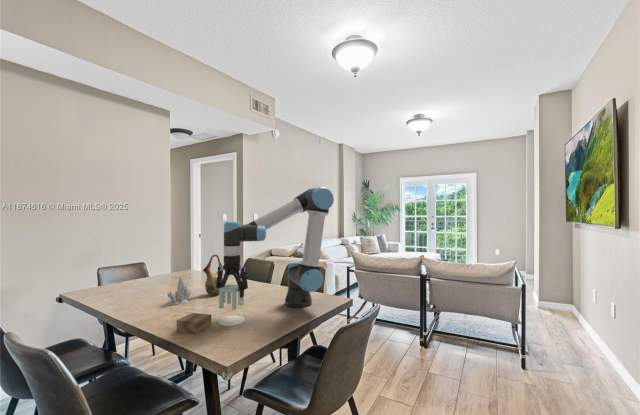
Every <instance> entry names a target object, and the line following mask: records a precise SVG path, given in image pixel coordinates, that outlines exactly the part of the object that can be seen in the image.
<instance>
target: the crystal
mask: <svg viewBox="0 0 640 415" xmlns="http://www.w3.org/2000/svg"><path fill="white" fill-rule="evenodd" d="M190 296H191V290H189V289H188V284H185V283H184V281H183V279H182V276H181V275H180V276H179V278H178V283H177V290H175V292H172V290H169V292H167V297H168V299H170V301H169V303H168V305H170V306H183V305H185V304H188V303H189V300H188V299H189V297H190Z"/></svg>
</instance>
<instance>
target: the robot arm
mask: <svg viewBox="0 0 640 415" xmlns="http://www.w3.org/2000/svg"><path fill="white" fill-rule="evenodd" d="M334 200H335V198H334V194H333V192H332V190H330V189H329V188H327V187H325V186H317V187H314V188H308V189H307V190H305V191H304V192H302V193H300V194H299V195H297V196H295V197H293V199H292V200H291V201H290V202H287V203H285V204H283V205H281V206H280V207H277V208H276V209H273V210H272V211H270V212H268V213H267V214H263V216H260V217H258V218H257V219H254V220H253V221H250V222H249V223H246V224H243V225H242V224H241V222H240V221H226V222H224V225H223V266H220V267H219V266H217V272H218V276H217V282H216V288H221V287H224V286H226V284H227V282H228V279H229V276H233V277H234V279H235V281H236V285H238V287H239V291H238V292H237V306H242V305H241V304H242V297H244V298H245V290H247V289H249V285H248V278H247V267H245V266H244V267H242V266H241V255H240V254H241V243H242V242H264V241H265V239H266V237H267V230H269V229H272V228H273V227H275V226H277V225H279V224H281V223H282V222H284V221H286V220H287V219H290V218H292V217H293V216H295V215H298V214H303V213H305V212H306V213H307V215H308V220H307V227H306V233H305V240H304V248H303V256H302V260H301V261H297V262H290V263H288V267H287V293H286V295H285V299H284V305H285V306H286V307H290V308H306V307H309V306H311V305H312V304H313V299H312V295H311V292H312V293H313V292H316V291H318V290H319V289H320V288H321V286H322V285H323V281H324V276H323V274H322V272H321V271H322V270H321V268H322V264H320V257H321V256H320V255H321V248H322V241H323V235H324V234H323V233H324V225H325V219H326V217H327V216H328V215H329V211H330V208H331V207H333V204H334V202H335V201H334ZM222 277H223V280H222ZM225 303H227V292H224V304H225Z"/></svg>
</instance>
